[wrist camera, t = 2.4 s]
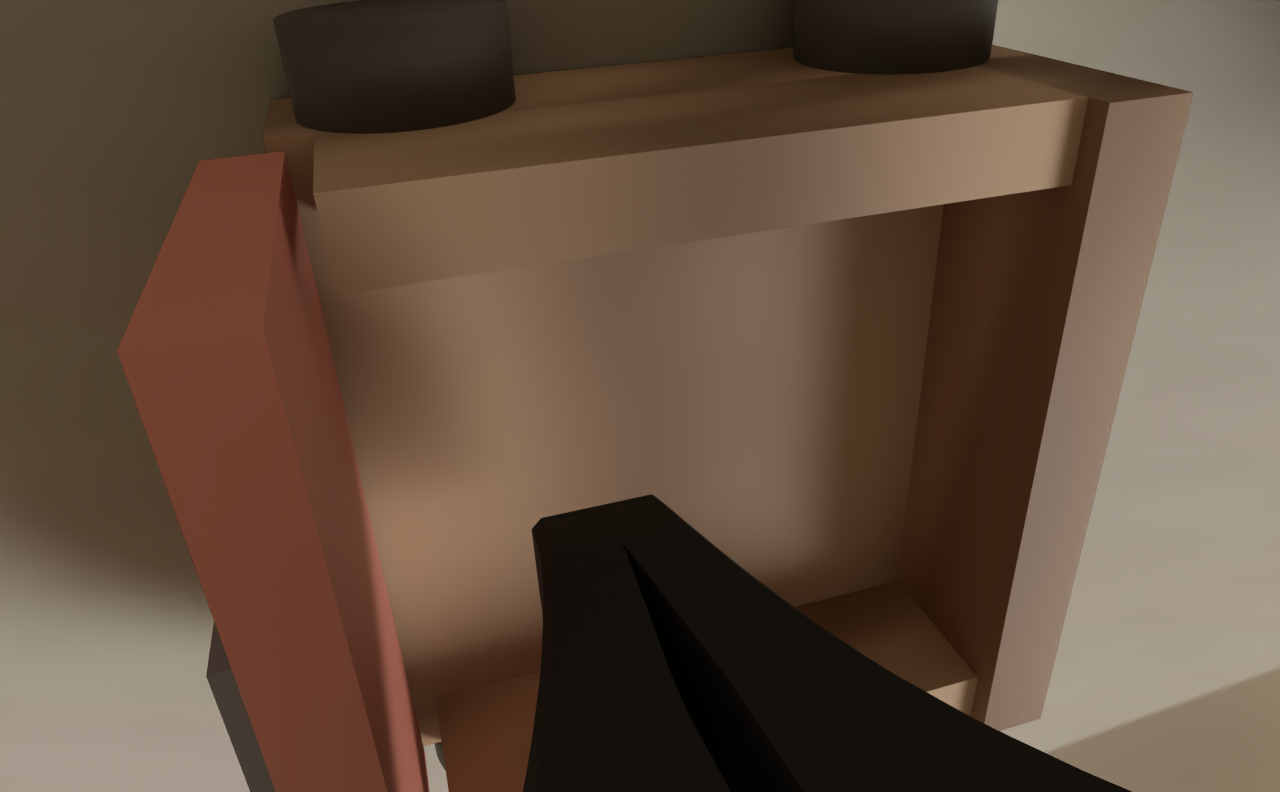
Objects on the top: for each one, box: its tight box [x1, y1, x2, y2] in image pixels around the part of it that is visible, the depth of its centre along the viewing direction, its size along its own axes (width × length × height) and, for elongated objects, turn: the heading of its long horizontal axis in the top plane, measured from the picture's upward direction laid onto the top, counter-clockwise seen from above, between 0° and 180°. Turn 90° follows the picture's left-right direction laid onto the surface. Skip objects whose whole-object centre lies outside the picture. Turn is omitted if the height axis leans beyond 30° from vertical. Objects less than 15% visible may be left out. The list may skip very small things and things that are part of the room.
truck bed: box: [262, 0, 1193, 792], centre depth 12 cm, size 9×11×4 cm
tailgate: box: [117, 151, 429, 792], centre depth 9 cm, size 1×9×4 cm, turn 2°
